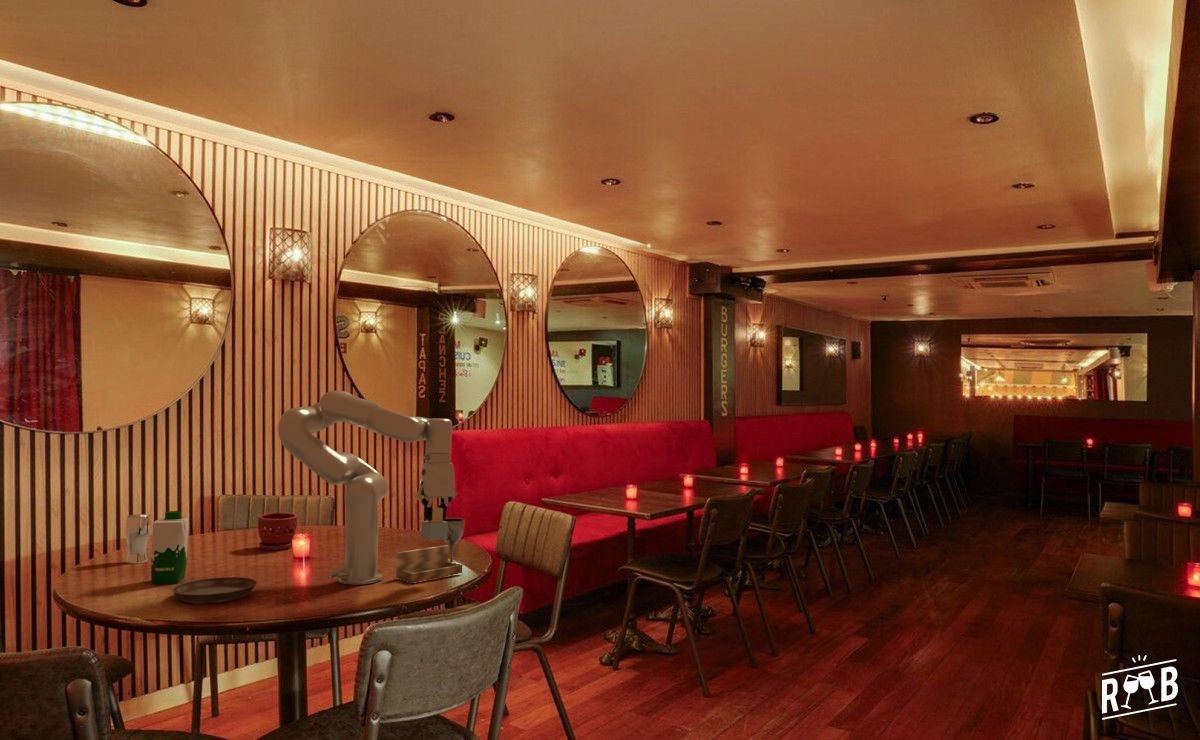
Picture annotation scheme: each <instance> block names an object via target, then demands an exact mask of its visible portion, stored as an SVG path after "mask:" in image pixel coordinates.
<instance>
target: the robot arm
mask: <svg viewBox="0 0 1200 740" xmlns="http://www.w3.org/2000/svg"><path fill="white" fill-rule="evenodd" d="M339 422H343V423H345V424H350V425H352V426H356V427H359V428H362V429H365V430H368V431H369V432H373V433H376V434H378V435H381V436H384V437H387V438H391V439H394V440H398V441H401V442H405V443H414V442H418V441H419V442H420V441H426V443H425V453H424V455H422V456H421V460H423V461H424V463H423V465H422V469H421V473H420V478H419V489H418V490H417V492H416V494H415V495H414V497H415V499H416V500H417V501H419V502H420V503H421V504H422V505H423V507H424V513H423V514H424V515H423V516H424V521H428V520H429V521H431V520H432V513H433V508H434V507H432V503H433V499H434V498H439V500H440V502H439V503H440V504H439V505H438V508H443V519H446V518H447V513H448V511H447V507H448V506H449V504H450V503H451V501H452V500H453V499H454V498H455V497H457V495H458V493H457V491H456V479H455V478H456V477H455V476H456V475H455V469H454V468H455V467H454V464H453V463H452V462H451V460H452V438H453V437H452V435H453V421H452V420H451V419H448V418H440V417H439V418H438V417H437V418H436V417H433V418H427V417H424V416H408V415H405V414H400V413H397V412H395V411H391V410H388V409H386V408H383V407H382V406H381V405H380V404H379V403H377V402H375V401H373V400H368V399H365V398H362V397H361V398H360V397H358V396H354V395H353V394H352V393H350V392H348V391H345V390H329V391H327V392H326V393H324V394H323V395H322V396H321V398H320V400H319V402H317V403H315V404H313V405H310V406H295V407H293V408H289V409H287V410H286V411H284V413H283V414H282V415H281V417H280V419H279V422H278V431H277V432H278V437H279V440H280V442H281V445H282V446H283V447H284V449H286V450H287V452H288V453H289V454H291V455H292V457H294V458H295V459H297V460H298V461H299V462H301V463H302V464H303V465H305V466H306V468H308V469H309V470H311V471H312V472H313V473H315V474H316V475H317V476H319V477H320V478H321V479H322V480H324V482H325V483H327V484H329V485H333V486H334V485H335V486H337V485H342V484H343V486H345V491H344V507H345V538H344V539H345V540H344V541H345V542H344V565H341V566H340V568H339V569H338V570H329V571H328V578H330V579H332V578H338V582H339V583H341V584H344V585H353V586H356V585H357V586H358V585H371V584H374V583H379V582H380V581H381V580H383V575H382V574H381V573H379V572H378V559H379V558H378V551H379V549H378V548H379V526H380V525H379V521H380V520H379V518H380V517H379V516H380V515H379V508H378V507H379V506H378V502H380V501H381V500H383V499H384V498H385V496H386V494H387V493H388V487H389V486H388V483H387V482H388V481H387V480H386V479H385V477H384V476H383V475H382V474H381V473H380V472H379V471H377V470H376V469H375V468H373V467H372V466H371V465H369V464H368V463H366V462H365V461H364V460H363V459H362V458H360V457H359V456H357V455H355V454H353V453H351V452H346V451H343V452H337V451H336V450H334V449H333V448H331V447H330V446H329V445H327V444H326V443H325V442H324V441H322V440H321V439H320V438H317V437H316V436H314V435H313V434H315V433H318V432H320V431H323V430H325V429H326V428H329V427H330V426H332V425H335V424H336V423H339Z"/></svg>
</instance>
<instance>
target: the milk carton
mask: <svg viewBox="0 0 1200 740" xmlns="http://www.w3.org/2000/svg"><path fill="white" fill-rule="evenodd" d="M164 515H165V516H164V518H159V519H156V520H155V521H153V522H152V540H151V556H150V557H151V558H150V559H151V560H150V561H151V562H150V563H151V564H150V567H151V568H150V569H151V573H150V574H151V575H150V579H151V580H150V582H151V585H167V584H170V585H171V584H173V585H174V584H179V583H180V582H181V581H183V580H184V579H185V576H186V569H187V562H188V561H187V559H188V541H189V540H188V539H189V537H188V536H189V517H182V516H181V515H182V512H181V511H178V510H173V511H172V510H169V511H166V512H165V513H164Z"/></svg>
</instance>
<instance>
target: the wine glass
mask: <svg viewBox="0 0 1200 740" xmlns="http://www.w3.org/2000/svg"><path fill="white" fill-rule="evenodd" d="M443 521H446V522H448V536H447V539H443V540H444V541H445V543H446V545H448V546H449V553H450V554H449V556H450V558H449V560H448V561H449V562H455V561H454V560H453V556H454V549H455V546H456V545H457V543H458V542H459V541H460V539H461V538H463V534H464V530H465V518H462V517H446V519H443Z"/></svg>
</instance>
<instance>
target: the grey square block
mask: <svg viewBox="0 0 1200 740" xmlns="http://www.w3.org/2000/svg"><path fill="white" fill-rule="evenodd" d="M432 508H433V513H432V520H431V521H429V520H423V521H421V539H424V540H426V541H429V542H431V541H439V540H444V539H447V536H448V522H446V521H443V508H439V507H432Z"/></svg>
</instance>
